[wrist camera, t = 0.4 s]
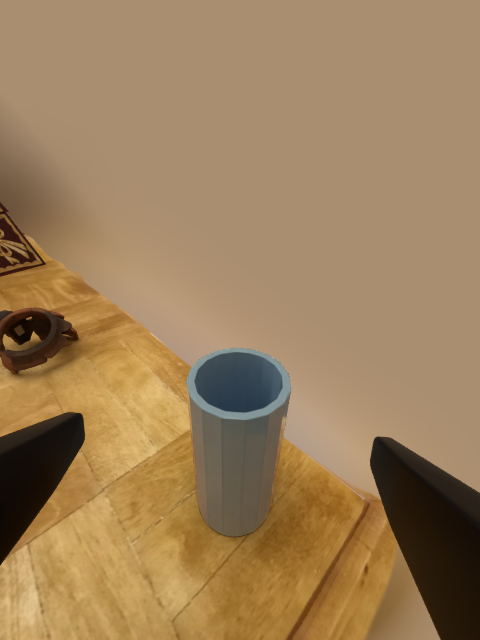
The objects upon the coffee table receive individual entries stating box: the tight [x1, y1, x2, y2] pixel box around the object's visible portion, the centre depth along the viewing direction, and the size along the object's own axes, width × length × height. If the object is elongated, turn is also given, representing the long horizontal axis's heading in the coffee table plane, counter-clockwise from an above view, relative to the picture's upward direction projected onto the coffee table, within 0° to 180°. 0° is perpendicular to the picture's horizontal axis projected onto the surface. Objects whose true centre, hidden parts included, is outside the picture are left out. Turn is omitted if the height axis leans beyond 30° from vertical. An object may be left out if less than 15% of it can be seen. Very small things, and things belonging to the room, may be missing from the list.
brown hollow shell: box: [0, 308, 78, 374], centre depth 38 cm, size 12×10×8 cm
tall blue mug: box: [186, 348, 291, 537], centre depth 21 cm, size 9×6×13 cm
